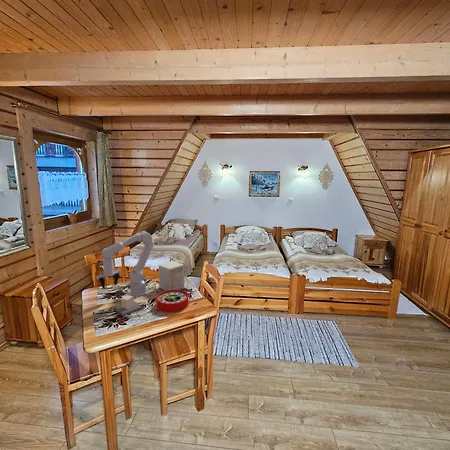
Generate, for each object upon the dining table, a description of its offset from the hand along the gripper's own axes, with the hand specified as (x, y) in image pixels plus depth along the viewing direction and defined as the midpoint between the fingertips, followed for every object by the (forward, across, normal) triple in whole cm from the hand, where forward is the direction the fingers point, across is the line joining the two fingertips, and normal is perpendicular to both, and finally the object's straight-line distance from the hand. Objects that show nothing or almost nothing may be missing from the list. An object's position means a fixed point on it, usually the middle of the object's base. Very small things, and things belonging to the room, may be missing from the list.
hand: (109, 286), depth 167 cm
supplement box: (+10, -40, +11) cm, 42 cm away
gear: (+10, -26, -12) cm, 31 cm away
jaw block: (+8, -3, +18) cm, 20 cm away
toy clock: (+10, -26, +33) cm, 43 cm away
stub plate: (+9, -3, +19) cm, 21 cm away
